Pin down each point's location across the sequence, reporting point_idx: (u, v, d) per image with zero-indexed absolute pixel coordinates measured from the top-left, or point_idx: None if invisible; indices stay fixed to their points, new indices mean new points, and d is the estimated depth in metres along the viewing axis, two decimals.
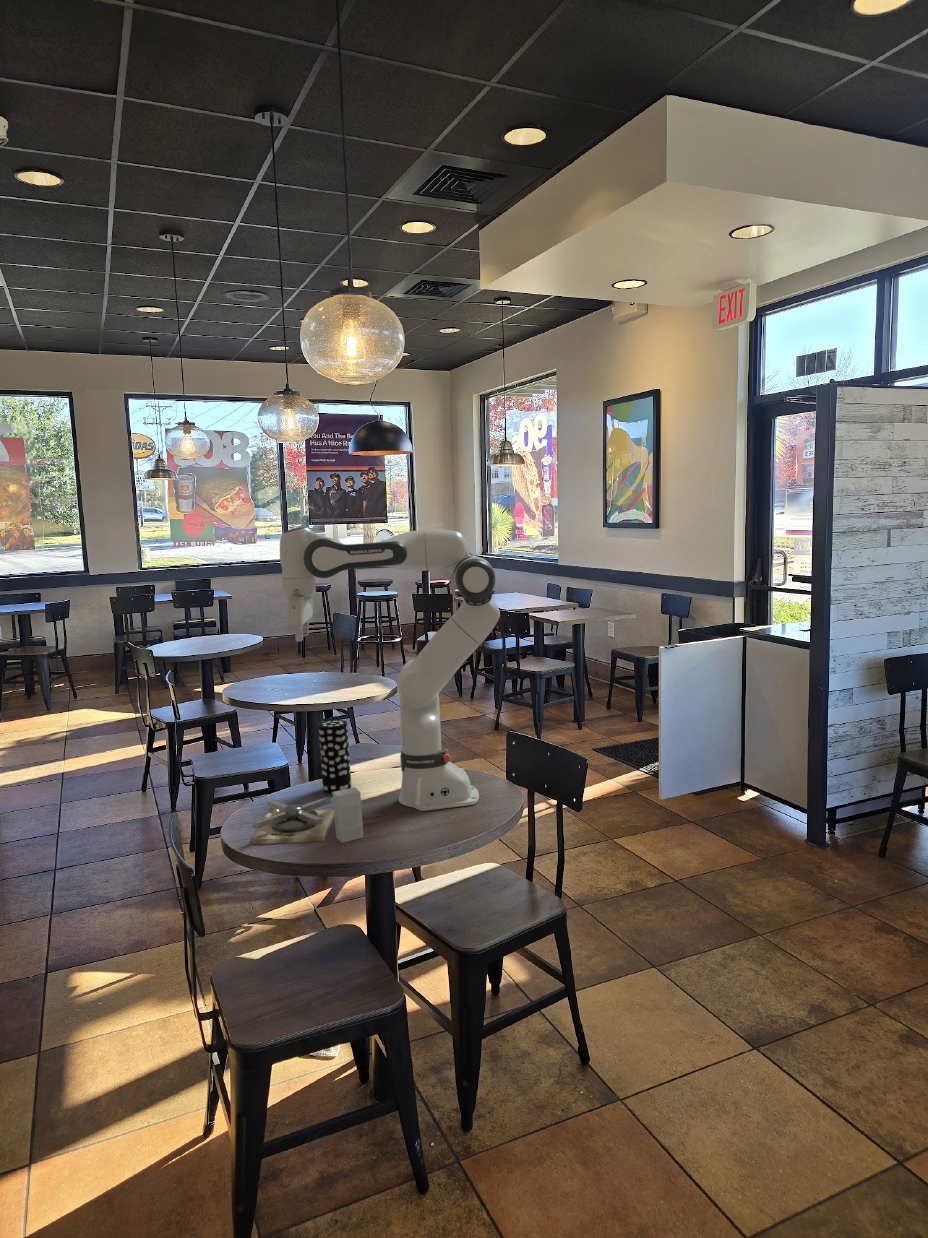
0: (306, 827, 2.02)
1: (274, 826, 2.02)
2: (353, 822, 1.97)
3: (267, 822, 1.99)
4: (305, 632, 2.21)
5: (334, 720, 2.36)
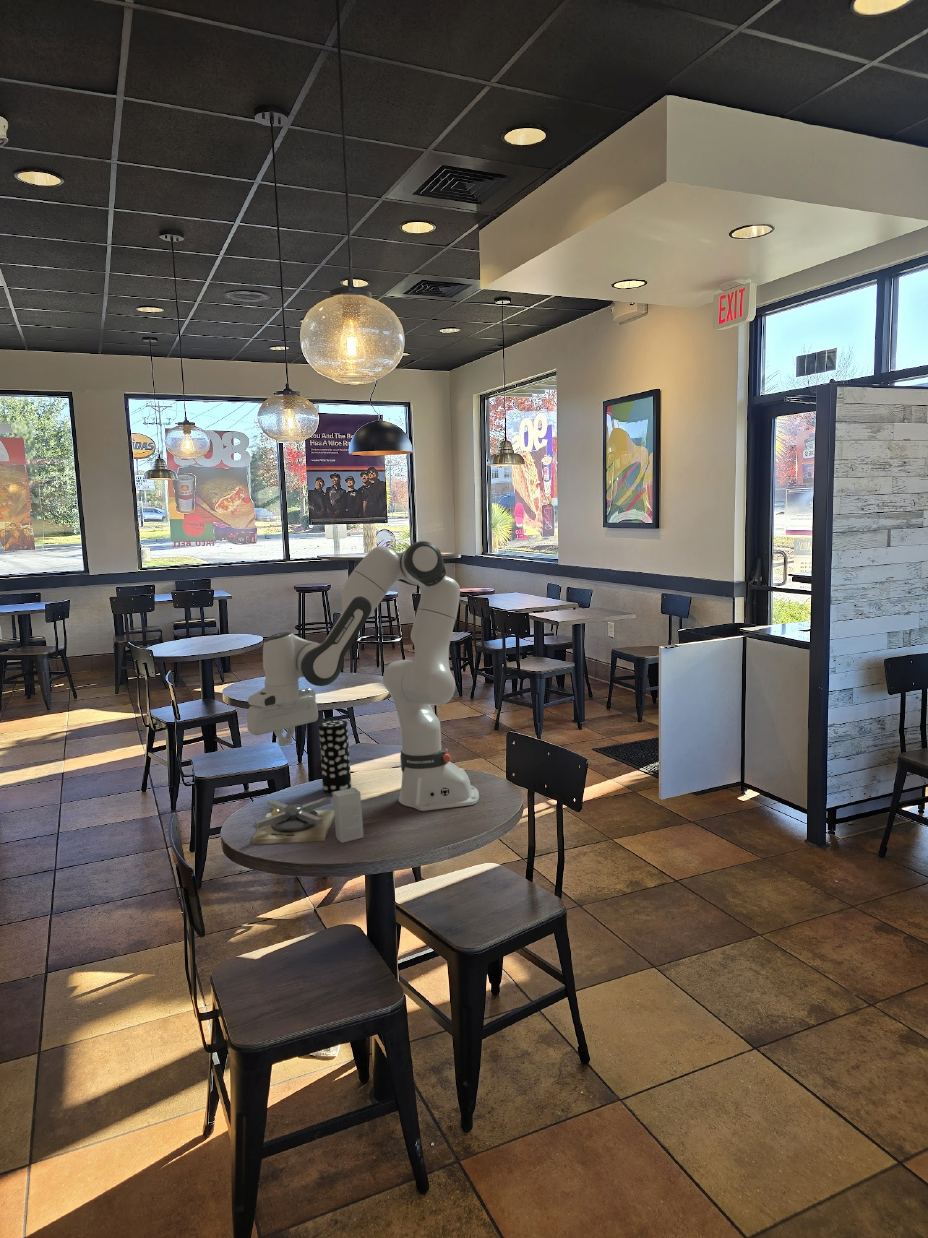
0: (306, 827, 2.02)
1: (274, 826, 2.02)
2: (353, 822, 1.97)
3: (267, 822, 1.99)
4: None
5: (334, 720, 2.36)
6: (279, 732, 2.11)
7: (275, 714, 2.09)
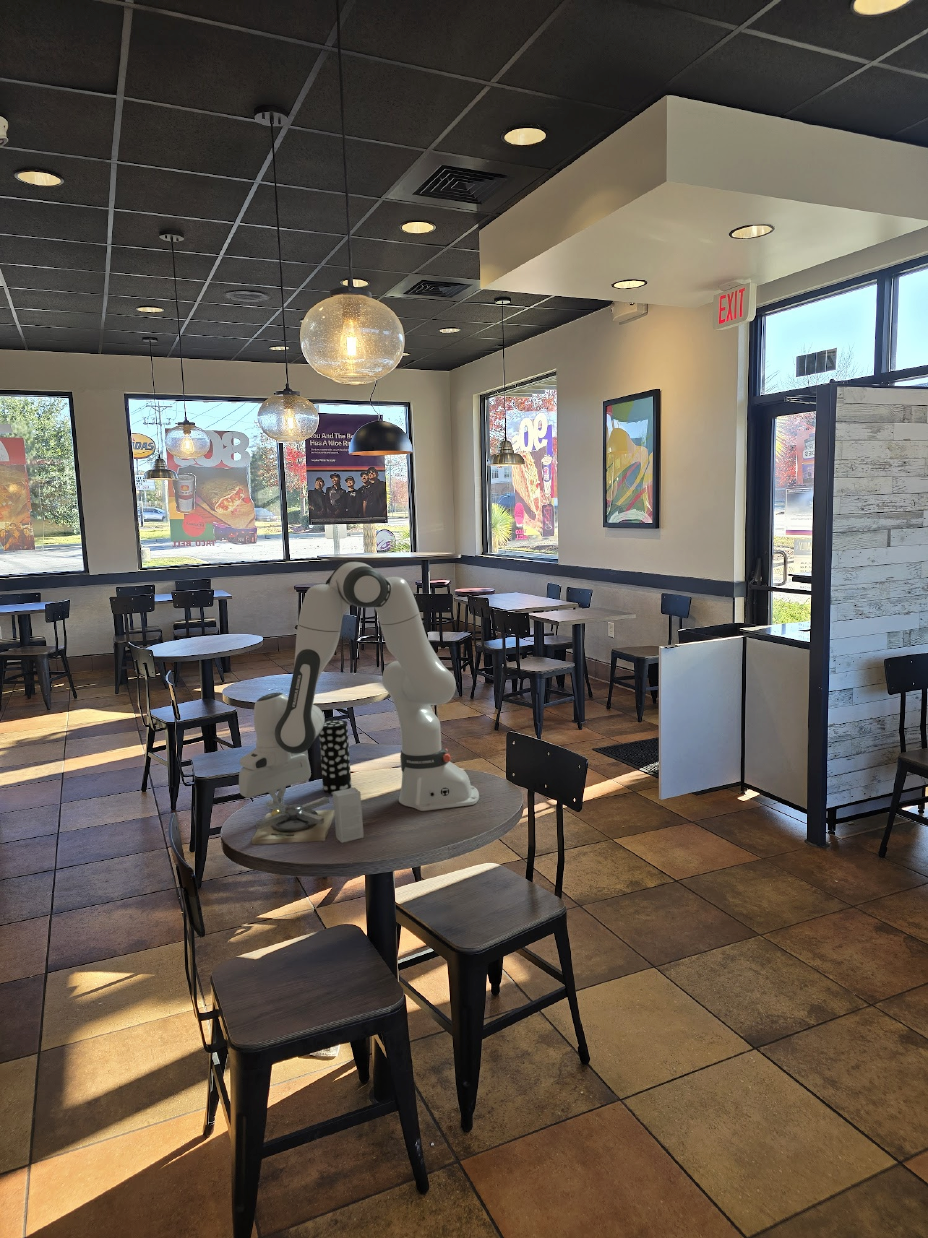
0: (307, 827, 2.02)
1: (275, 826, 2.02)
2: (353, 822, 1.97)
3: (268, 823, 1.99)
4: None
5: (334, 720, 2.36)
6: (273, 792, 2.11)
7: (267, 776, 2.09)
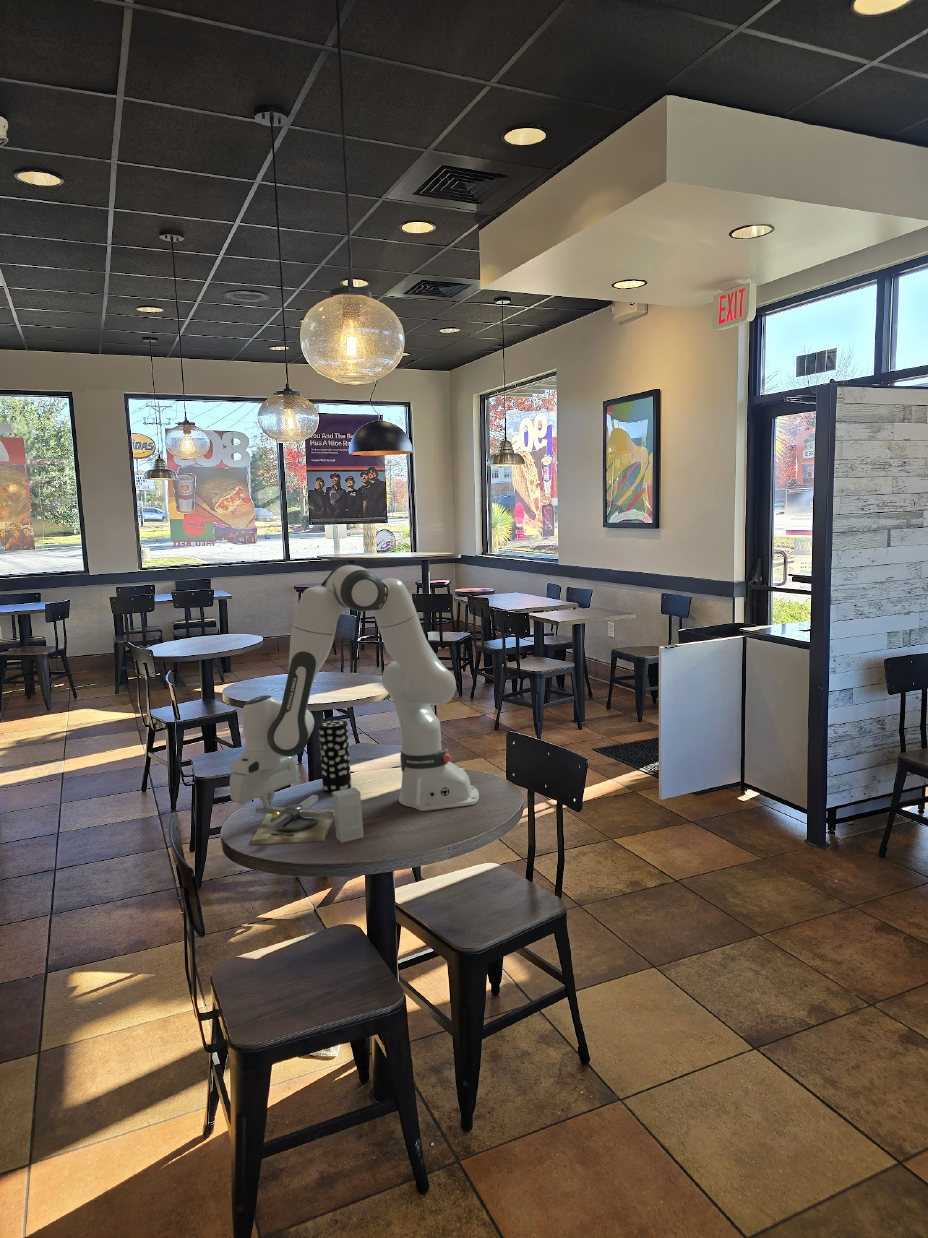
0: (314, 824, 2.04)
1: (281, 828, 2.01)
2: (353, 822, 1.97)
3: (278, 824, 1.98)
4: None
5: (334, 720, 2.36)
6: (264, 796, 2.08)
7: (258, 780, 2.06)
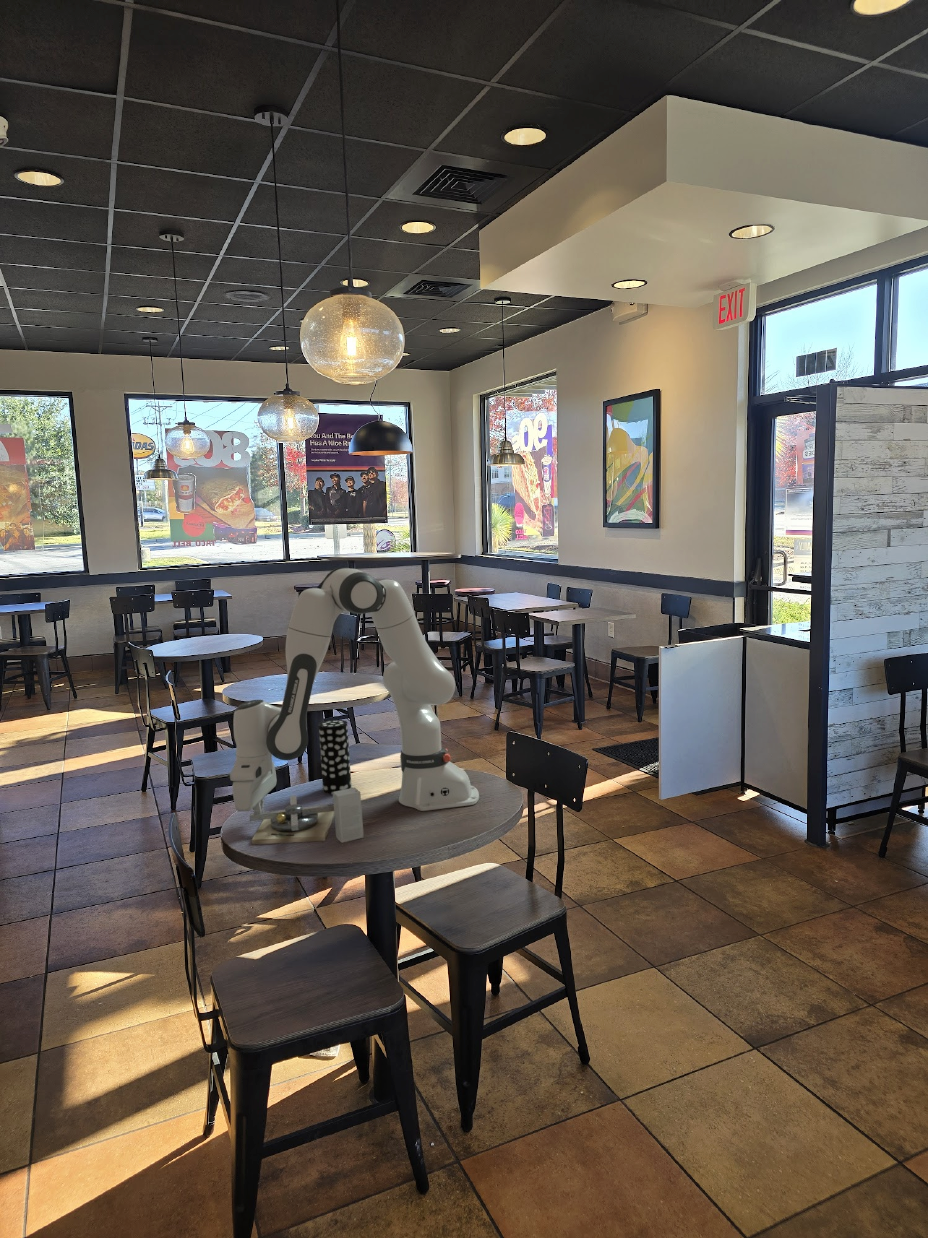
0: None
1: None
2: (353, 822, 1.97)
3: None
4: None
5: (334, 720, 2.36)
6: (258, 803, 2.04)
7: (256, 786, 2.01)
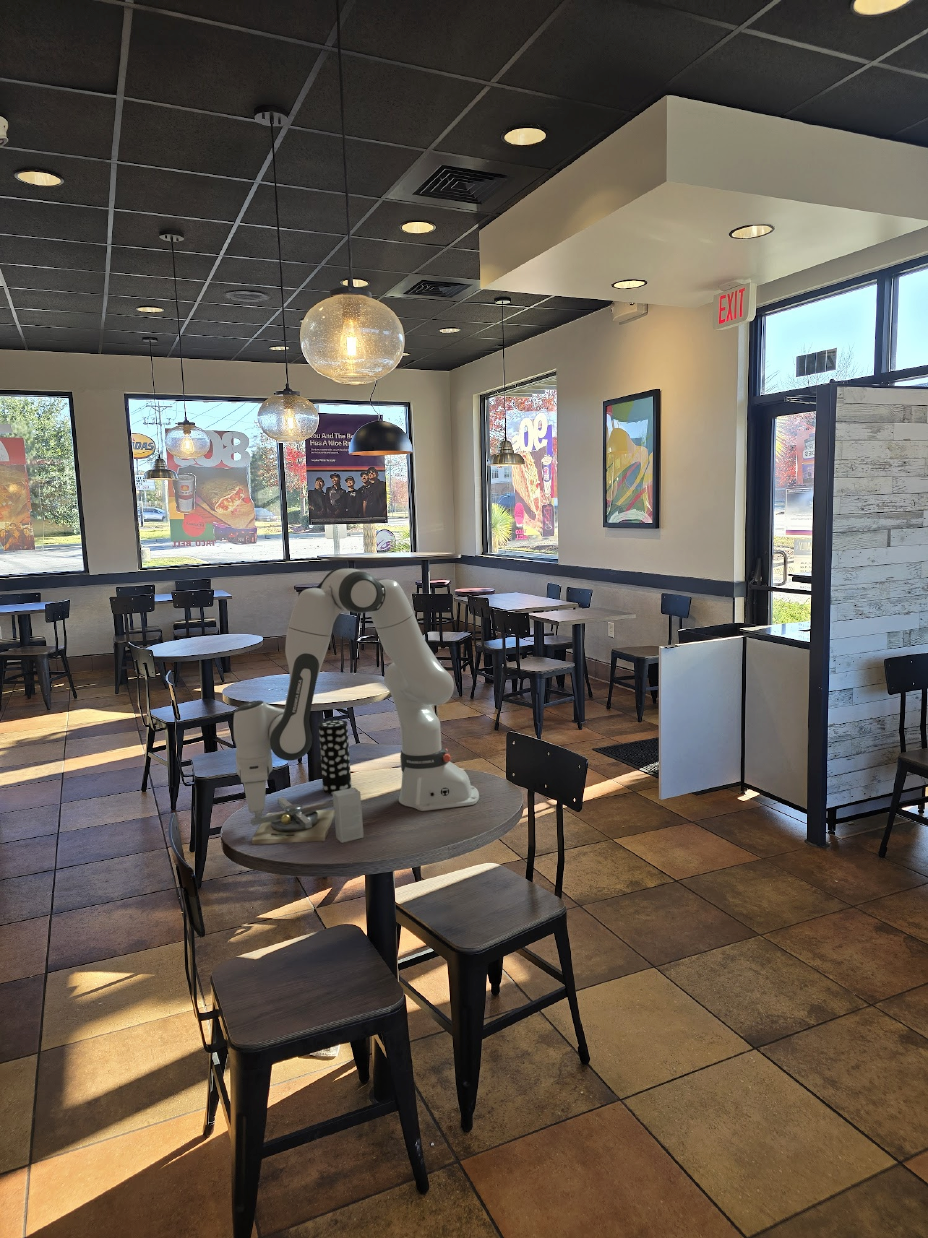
0: None
1: (302, 826, 2.01)
2: (353, 822, 1.97)
3: None
4: None
5: (334, 720, 2.36)
6: None
7: None
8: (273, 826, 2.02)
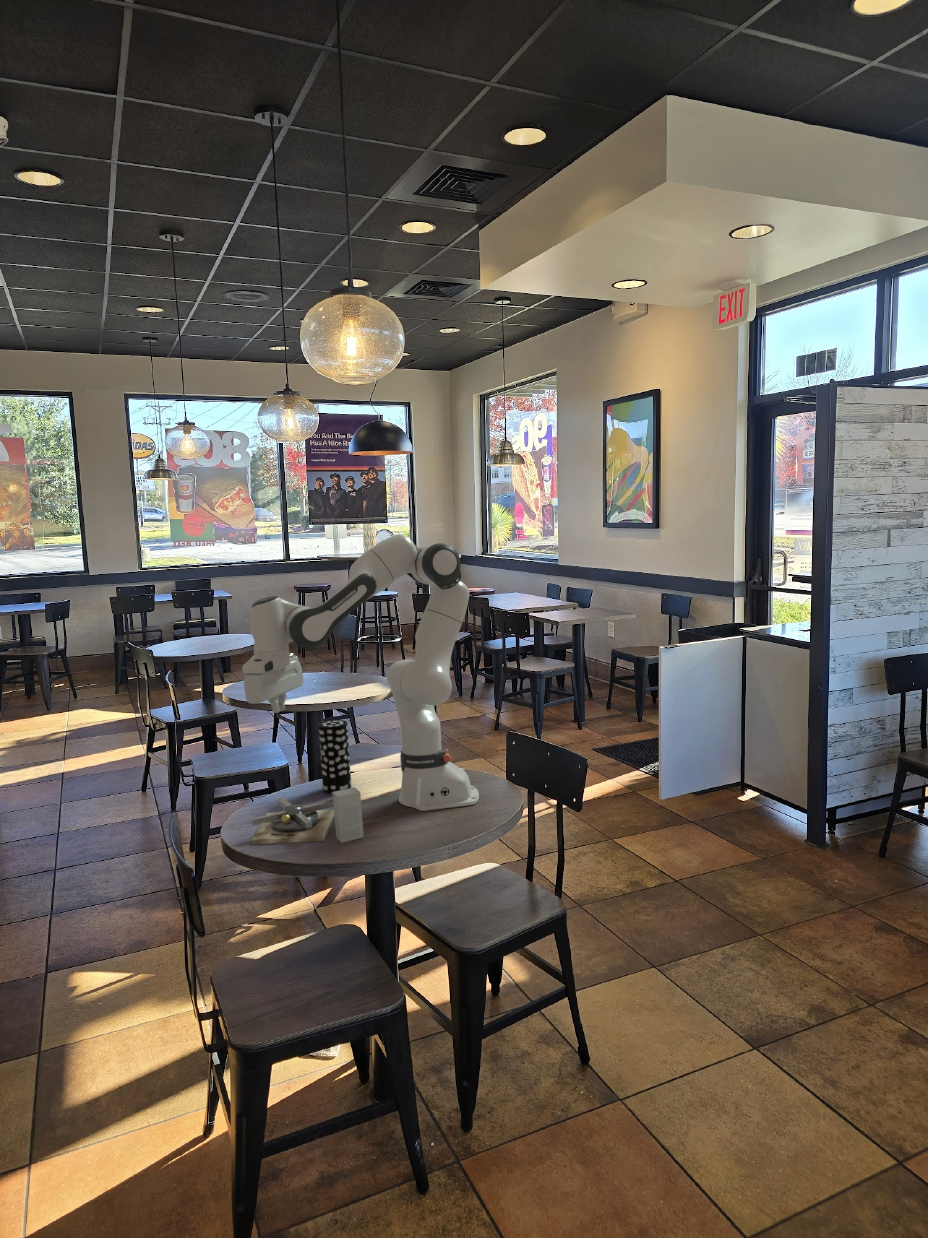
0: None
1: (302, 826, 2.01)
2: (353, 822, 1.97)
3: None
4: None
5: (334, 720, 2.36)
6: (274, 699, 2.06)
7: (271, 681, 2.04)
8: (273, 826, 2.02)
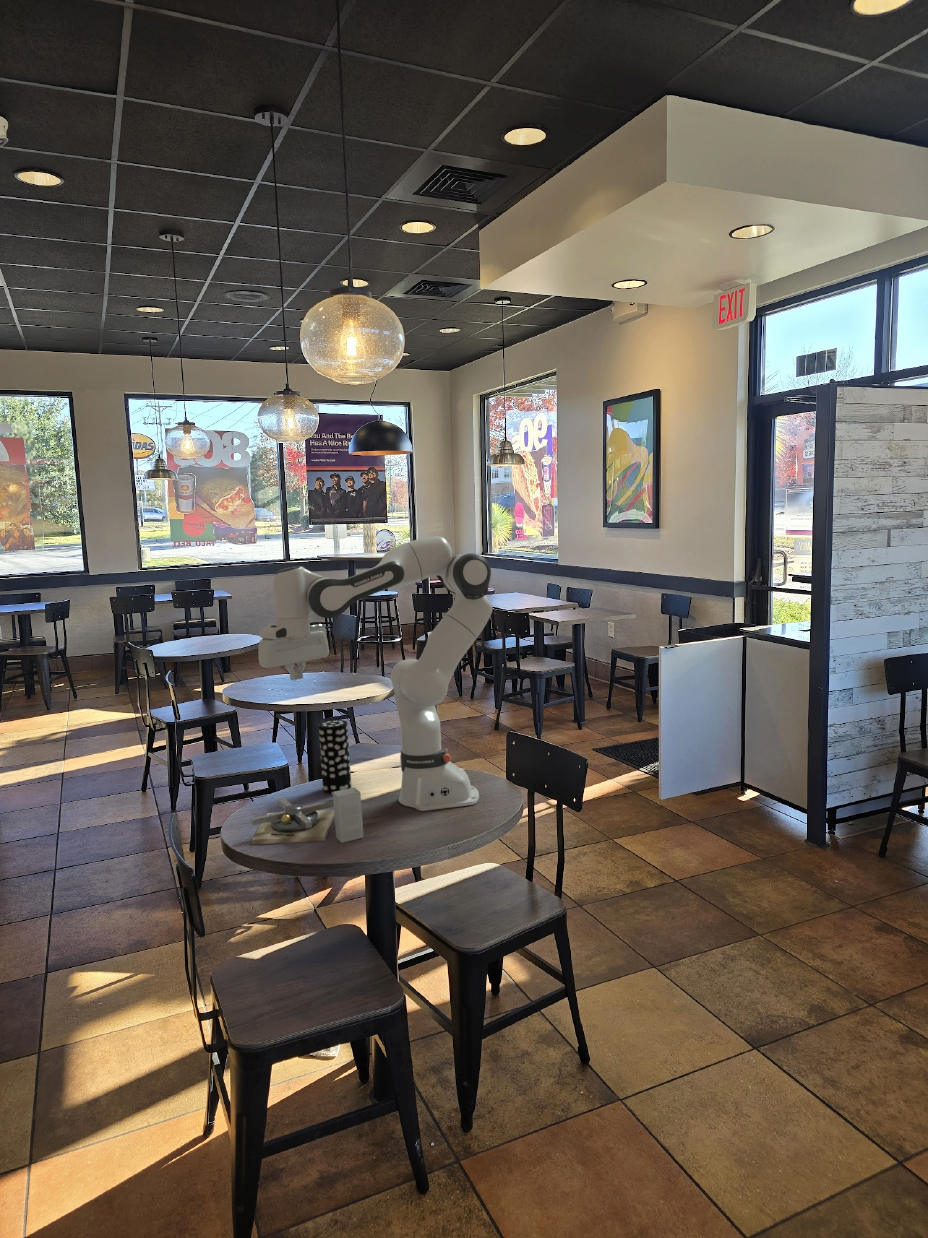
0: None
1: (302, 826, 2.01)
2: (353, 822, 1.97)
3: None
4: None
5: (334, 720, 2.36)
6: (290, 666, 2.10)
7: (286, 648, 2.08)
8: (273, 826, 2.02)
